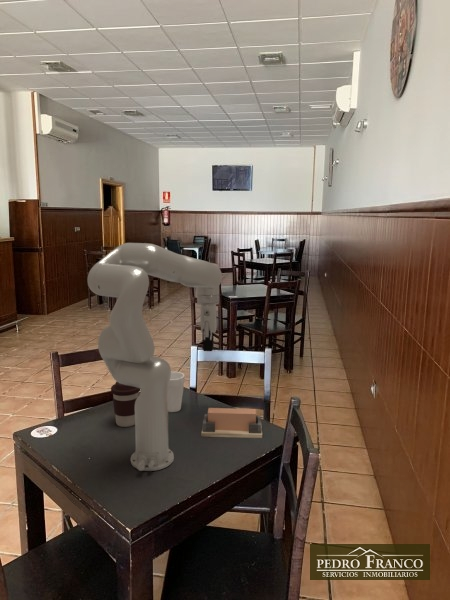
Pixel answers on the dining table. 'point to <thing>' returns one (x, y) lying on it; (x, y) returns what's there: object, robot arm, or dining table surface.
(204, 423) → the board
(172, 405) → the foam cup
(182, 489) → the dining table surface
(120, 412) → the coffee cup
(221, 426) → the orange brown rectangular block
